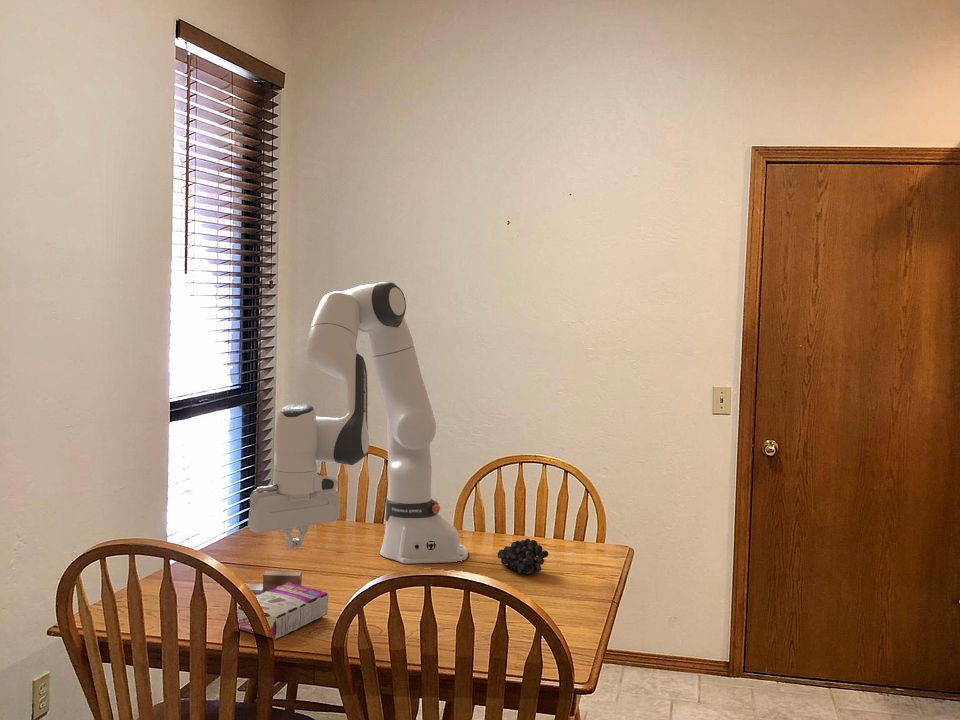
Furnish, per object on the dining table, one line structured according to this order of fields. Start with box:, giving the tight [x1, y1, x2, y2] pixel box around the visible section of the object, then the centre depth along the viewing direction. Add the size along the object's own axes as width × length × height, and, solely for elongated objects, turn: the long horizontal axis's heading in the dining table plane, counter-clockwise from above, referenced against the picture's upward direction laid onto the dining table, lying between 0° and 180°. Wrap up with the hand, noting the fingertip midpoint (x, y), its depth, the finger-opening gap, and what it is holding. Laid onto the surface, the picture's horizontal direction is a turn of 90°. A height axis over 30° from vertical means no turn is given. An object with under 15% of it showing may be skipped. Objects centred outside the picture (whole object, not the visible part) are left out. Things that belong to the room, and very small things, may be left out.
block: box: [245, 570, 303, 594], centre depth 218 cm, size 13×4×4 cm, turn 91°
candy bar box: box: [238, 582, 329, 641], centre depth 199 cm, size 11×5×16 cm
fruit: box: [496, 538, 549, 575], centre depth 242 cm, size 9×8×15 cm
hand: (294, 547), depth 208 cm, fingers closed
